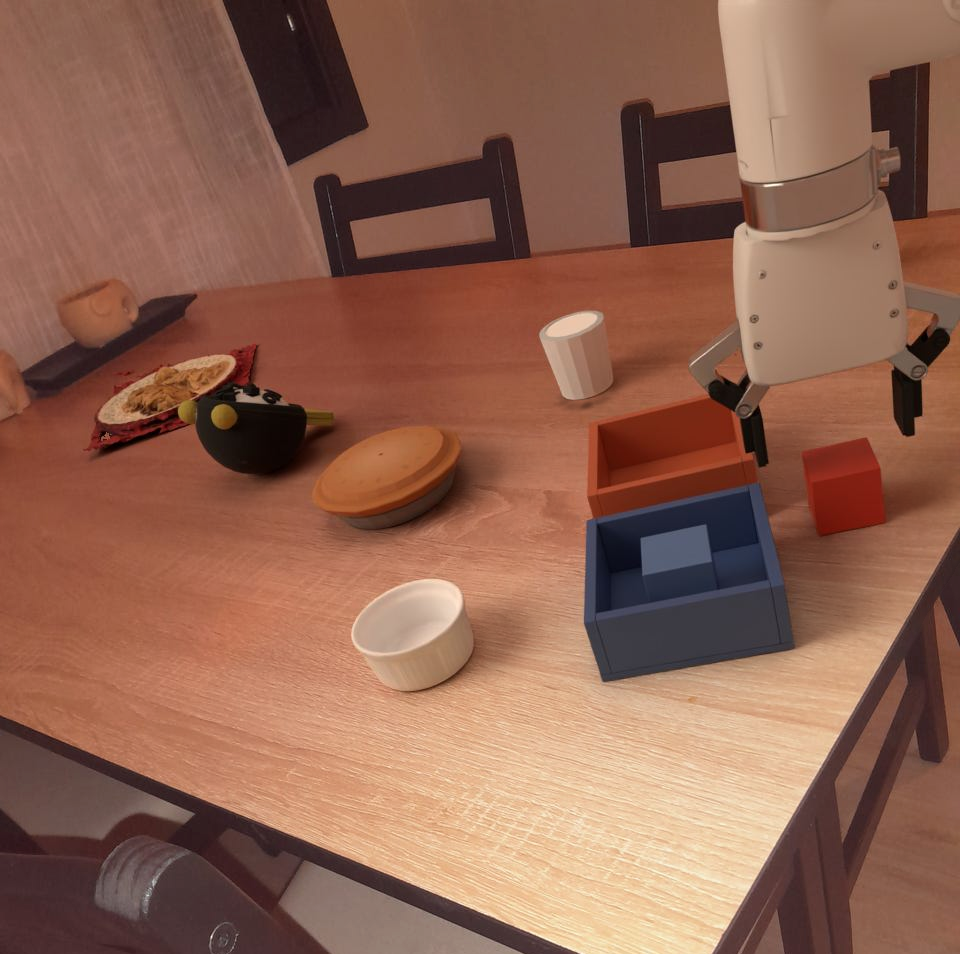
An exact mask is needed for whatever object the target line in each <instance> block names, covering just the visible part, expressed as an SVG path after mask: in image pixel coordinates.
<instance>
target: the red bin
mask: <svg viewBox="0 0 960 954" xmlns="http://www.w3.org/2000/svg"><path fill="white" fill-rule="evenodd" d="M587 450H588V452H587V453H588V454H587V489H586V490H587V491H586V498H587V501H588V504H589V508H590V512H591V516H592V519H594V518H599V517H604V516H608V515H613V514H617V513H622V512H626V511H631V510H636V509H640V508H645V507H649V506H654V505H658V504H663V503H667V502H672V501H677V500H681V499H686V498H690V497H695V496H699V495H704V494H708V493H713V492H718V491H722V490H727V489H731V488H736V487H740V486H745V485H749V484H754V483H758V477H757V470H756V464H755V458H754V455H753V454H754V453H753V452H751V453H747V454H746V453H745V449H744V443H743V437H742V431H741V424H740V418H739V417H737V415H736V413H735V412H733V411H732V410H730V409H728V408H727V407H725V406H723V405H721V404H720V403H718V402H716V401H714V400H713V399H711V398H710V396H709V394H708V393H706V394H702V395H698V396H694V397H690V398H686V399H685V398H684V399H682V400H678V401H674V402H669V403H665V404H662V405H658V406H653V407H650V408H649V407H648V408H645V409H641V410H637V411H633V412H629V413H624V414H620V415H617V416H612V417H608V418H604V419H600V420H597V421H596V420H595V421H592V422H589V423H588V448H587Z"/></svg>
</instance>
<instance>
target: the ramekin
mask: <svg viewBox="0 0 960 954" xmlns="http://www.w3.org/2000/svg"><path fill="white" fill-rule="evenodd" d="M351 627H352V628H351V631H350V638H351V642H352V644H353V646H354V648H356V650H357V651H358V653H360V654H361V655H362V656H363V658H364V659H365V662H366V663H367V664H368V666H369V667H370V669H371V670H372V672H373V674H374V675H375V677H376V678H377V679H378V680H379V682H380V683H381V684H383V685H384V686H385V687H387V688H390V689H392V690H394V691H400V692H401V691H402V692H415V691H421V690H425V689H429V688H432V687H434V686H437V685H439V684H441V683H442V682H445V681H446V680H448V679H450V678H451V677H452V676H454V675H455V674H457V672H459V671H460V670H461V669H462V668H463V666H465V664H466V663H467V662H468V660H469V659H470V657H471V655H472V653H473V651H474V647H475V637H474V633H473V630H472V627H471V622H470V619H469V615H468V613H467V610H466V599H465V596H464V593H463V591H462V589H461V588H460V587H459V586H458V585H456V583H454V582H451V581H449V580H445V579H441V578H422V579H417V580H413V581H408V582H404V583H402V584H399V585H397V586H395V587H392V588H391V589H388V590H387V591H385V592H383V593H381V594H380V595H379V596H377V597H376V598H374V599H372V601H370V602H369V603H368V604H367V605H366V606H365V607H364V608H363V609H362V610H361V611H360V613H359V614H358V615H357V616H356V618H355V620H354V622H353V625H352V626H351Z"/></svg>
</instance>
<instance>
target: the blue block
mask: <svg viewBox="0 0 960 954" xmlns="http://www.w3.org/2000/svg"><path fill="white" fill-rule="evenodd" d="M641 556H642V575H643V579H644V583H645V587H646V590H647V594H648V598H649V602H650V603H653V602H658V601H663V600H668V599H673V598H678V597H684V596H689V595H694V594H699V593H704V592H709V591H715V590H720V589H719V582H718V576H717V572H716V567H715V562H714V557H713V553H712V548H711V543H710V538H709V534H708V529H707V525H706V524H705V525H700V526H695V527H691V528H686V529H681V530H677V531H672V532H667V533H662V534H658V535H653V536H648V537H643V538H641Z"/></svg>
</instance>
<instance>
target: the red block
mask: <svg viewBox="0 0 960 954" xmlns="http://www.w3.org/2000/svg"><path fill="white" fill-rule="evenodd" d="M801 460H802V467H803V474H804V481H805V489H806V496H807V504H808V506H809V509H810V513H811V516H812V520H813V523H814V525H815V529H816V531H817V535H818V536H819V537H821V536H826V535H831V534H836V533H840V532H846V531H851V530H856V529H860V528H865V527H870V526H876V525H880V524H881V525H882V524H885V523H886V514H885V502H884V491H883V489H884V488H883V481H882V480H883V479H882V468H881V466H880V463H879V460H878V458H877V456H876V454H875V452H874V450H873V448H872V445H871V443H870V441H869V439H868V437H867V436H866V437H860V438H857V439H851V440H847V441H842V442H838V443H833V444H829V445H825V446H820V447H817V448H811V449H807V450H803V451H801Z"/></svg>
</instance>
